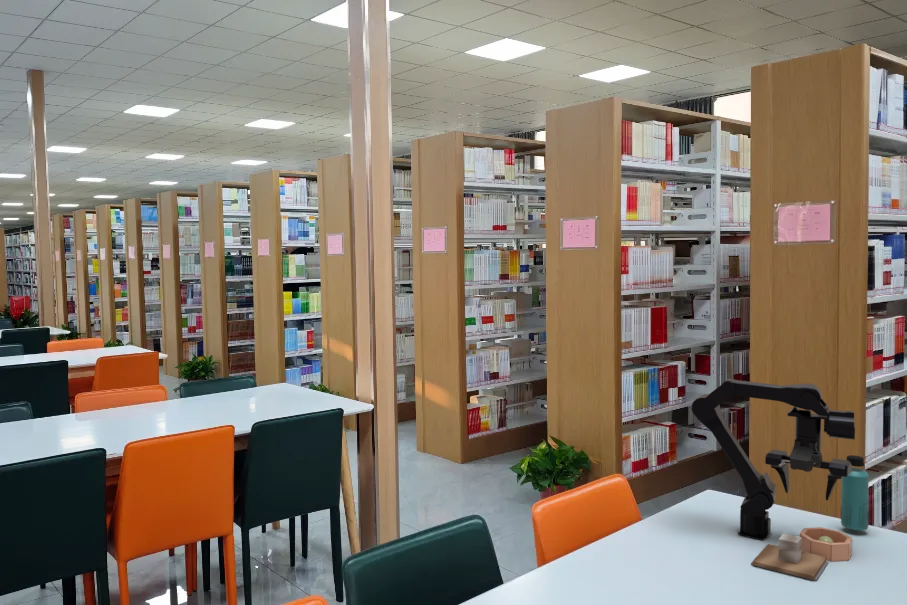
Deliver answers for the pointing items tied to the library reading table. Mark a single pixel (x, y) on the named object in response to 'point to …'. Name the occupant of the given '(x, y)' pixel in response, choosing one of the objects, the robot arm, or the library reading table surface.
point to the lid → (790, 558)
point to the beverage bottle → (855, 496)
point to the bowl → (826, 543)
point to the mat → (803, 577)
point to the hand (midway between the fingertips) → (806, 496)
